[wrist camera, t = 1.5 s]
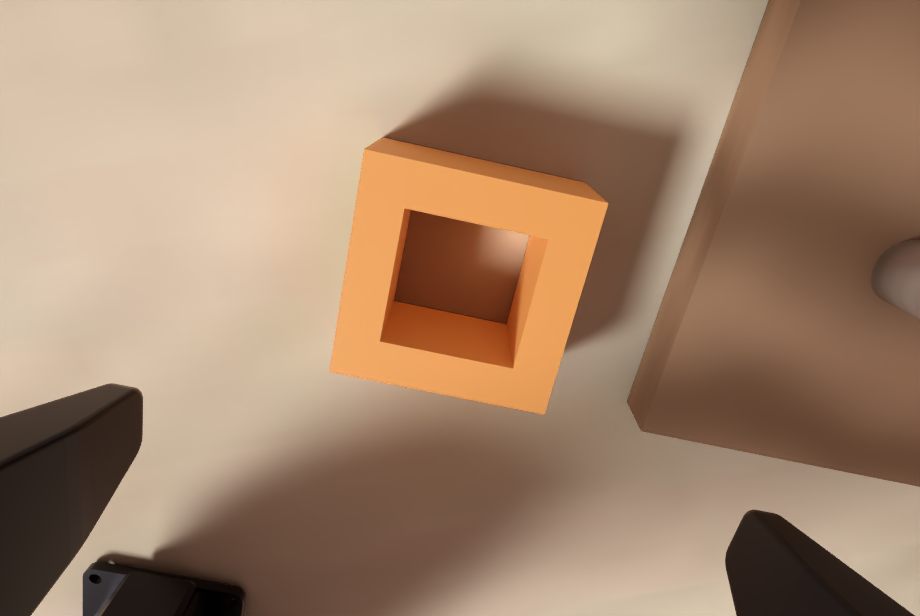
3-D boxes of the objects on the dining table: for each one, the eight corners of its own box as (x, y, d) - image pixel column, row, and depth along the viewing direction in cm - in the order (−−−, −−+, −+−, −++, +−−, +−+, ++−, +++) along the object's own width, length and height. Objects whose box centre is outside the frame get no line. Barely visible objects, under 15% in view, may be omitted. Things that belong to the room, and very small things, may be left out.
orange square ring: (533, 364, 22) (544, 414, 19) (351, 327, 21) (329, 371, 18) (585, 182, 20) (608, 202, 16) (382, 137, 19) (364, 149, 16)
